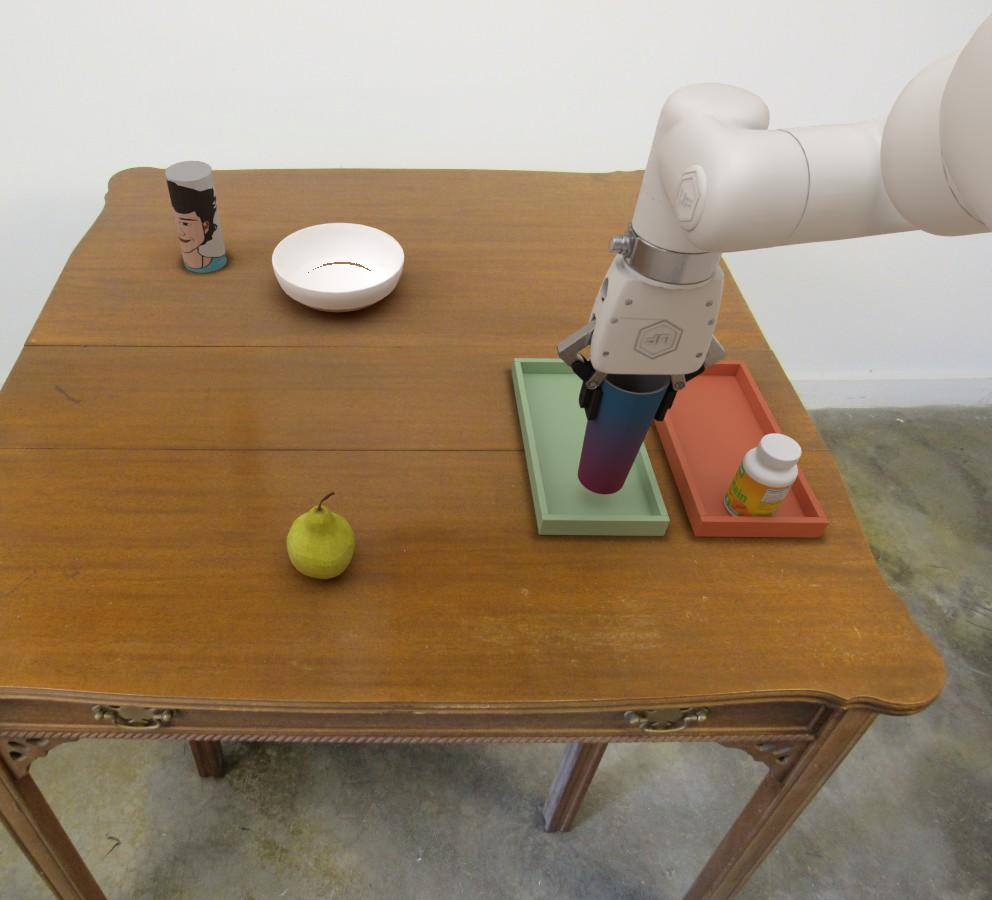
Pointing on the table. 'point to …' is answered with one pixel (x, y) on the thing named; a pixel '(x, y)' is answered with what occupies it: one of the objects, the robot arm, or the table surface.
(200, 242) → the white printed cylinder
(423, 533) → the table surface
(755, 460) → the supplement bottle
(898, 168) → the robot arm
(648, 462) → the sage tray
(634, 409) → the cup
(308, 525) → the fruit
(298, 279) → the bowl
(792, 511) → the terracotta tray
